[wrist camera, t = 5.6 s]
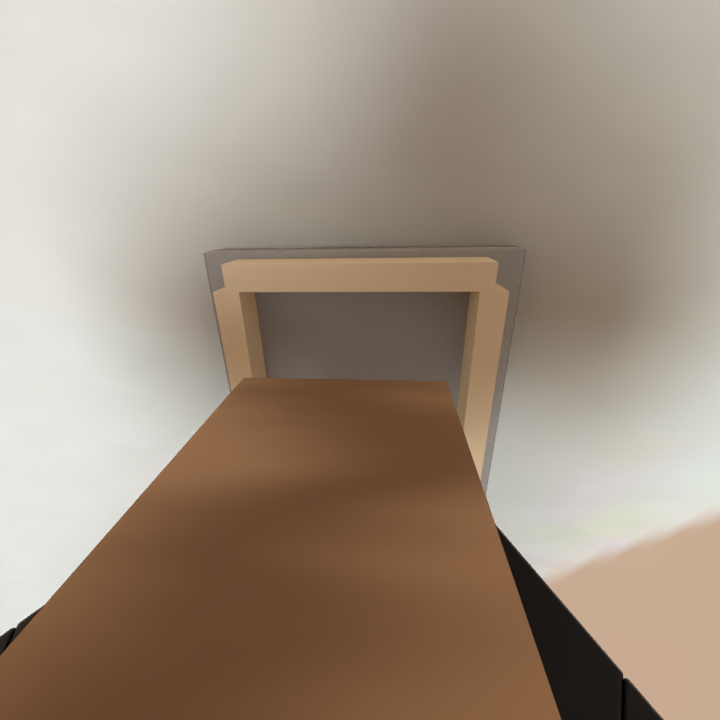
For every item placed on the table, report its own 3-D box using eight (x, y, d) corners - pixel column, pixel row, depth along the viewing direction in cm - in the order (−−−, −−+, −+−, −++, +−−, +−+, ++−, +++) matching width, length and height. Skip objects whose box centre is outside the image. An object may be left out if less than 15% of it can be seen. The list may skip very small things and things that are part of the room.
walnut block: (446, 381, 7) (610, 867, 2) (432, 531, 9) (498, 1009, 4) (243, 377, 8) (-109, 778, 2) (268, 523, 10) (105, 945, 4)
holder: (452, 655, 20) (481, 861, 14) (286, 642, 21) (241, 830, 15) (515, 246, 11) (683, 293, 5) (217, 249, 12) (20, 295, 6)
